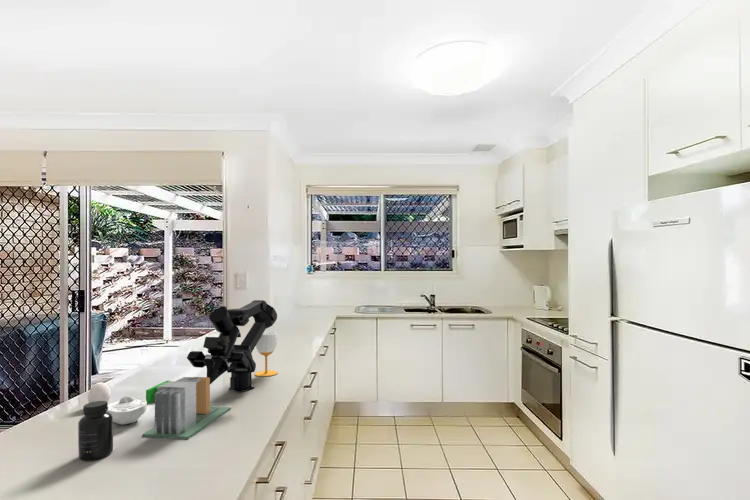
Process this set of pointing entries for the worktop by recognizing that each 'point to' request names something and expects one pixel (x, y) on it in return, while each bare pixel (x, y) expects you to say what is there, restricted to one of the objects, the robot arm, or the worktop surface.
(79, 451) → the supplement bottle
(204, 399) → the orange block
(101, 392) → the egg
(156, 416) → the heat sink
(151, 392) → the pipe clamp
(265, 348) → the cup
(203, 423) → the board
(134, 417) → the cell model
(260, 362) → the worktop surface
